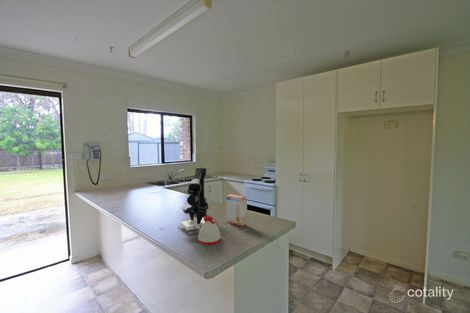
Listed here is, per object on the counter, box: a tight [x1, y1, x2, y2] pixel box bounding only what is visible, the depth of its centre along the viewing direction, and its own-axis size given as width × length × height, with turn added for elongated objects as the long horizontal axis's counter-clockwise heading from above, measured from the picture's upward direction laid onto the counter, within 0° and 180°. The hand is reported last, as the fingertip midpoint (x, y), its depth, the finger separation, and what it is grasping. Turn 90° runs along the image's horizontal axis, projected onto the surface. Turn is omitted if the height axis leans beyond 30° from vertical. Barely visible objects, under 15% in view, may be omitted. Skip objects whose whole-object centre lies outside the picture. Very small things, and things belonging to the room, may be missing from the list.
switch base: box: [177, 225, 201, 236], centre depth 151 cm, size 22×16×1 cm
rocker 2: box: [194, 218, 215, 226], centre depth 155 cm, size 9×12×2 cm
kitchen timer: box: [197, 215, 222, 246], centre depth 133 cm, size 14×14×15 cm
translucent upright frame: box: [225, 193, 247, 227], centre depth 160 cm, size 14×6×21 cm, turn 52°
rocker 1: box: [180, 219, 200, 230], centre depth 148 cm, size 9×12×2 cm
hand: (195, 223), depth 150 cm, fingers open, 9 cm apart
